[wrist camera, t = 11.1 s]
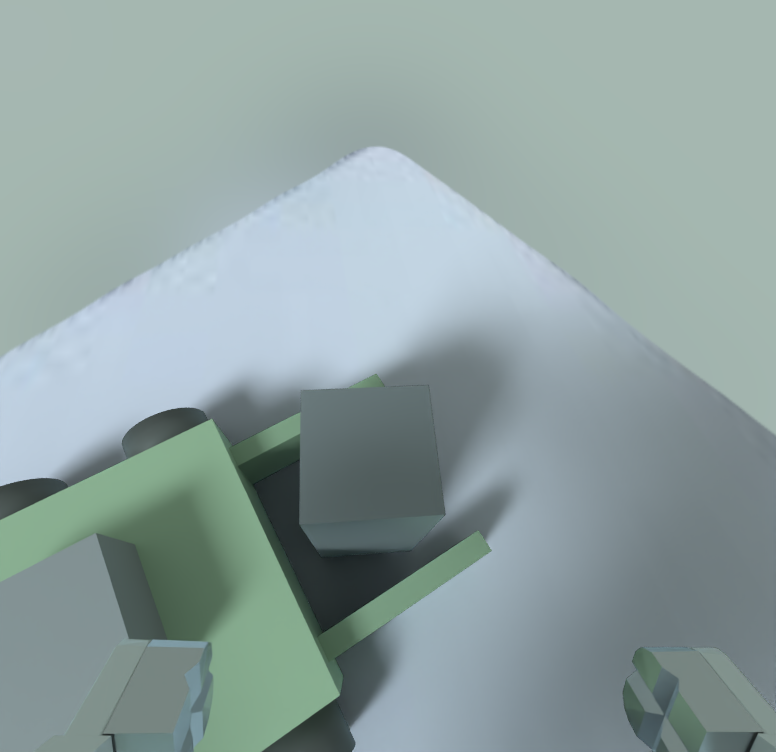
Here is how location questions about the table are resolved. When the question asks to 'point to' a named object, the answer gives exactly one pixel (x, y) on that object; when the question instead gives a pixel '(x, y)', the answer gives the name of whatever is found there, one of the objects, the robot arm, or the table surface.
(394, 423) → the tall gray column
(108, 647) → the green toy forklift
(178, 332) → the table surface
